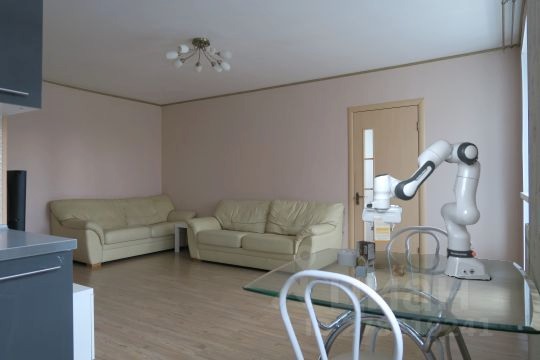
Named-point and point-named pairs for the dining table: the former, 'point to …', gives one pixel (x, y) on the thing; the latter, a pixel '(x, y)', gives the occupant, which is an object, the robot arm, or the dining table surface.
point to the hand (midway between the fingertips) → (381, 230)
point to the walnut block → (398, 270)
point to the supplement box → (381, 230)
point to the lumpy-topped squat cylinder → (347, 257)
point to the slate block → (361, 271)
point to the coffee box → (365, 255)
